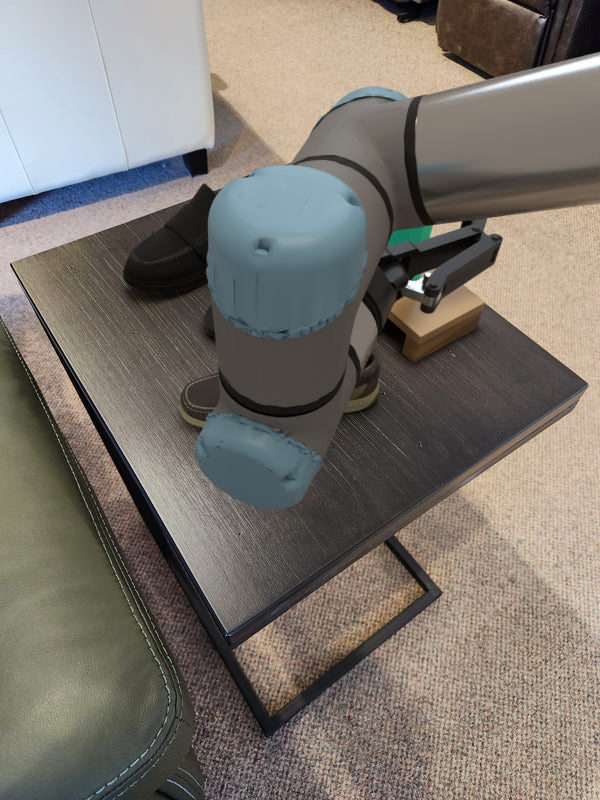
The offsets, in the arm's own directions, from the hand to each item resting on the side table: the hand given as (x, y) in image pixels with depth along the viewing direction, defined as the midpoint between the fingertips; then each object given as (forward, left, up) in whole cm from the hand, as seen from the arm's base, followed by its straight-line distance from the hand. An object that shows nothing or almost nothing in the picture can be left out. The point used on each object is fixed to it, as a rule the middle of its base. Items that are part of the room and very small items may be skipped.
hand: (407, 178), depth 57 cm
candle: (+5, -14, -23) cm, 27 cm away
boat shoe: (+7, +11, -28) cm, 31 cm away
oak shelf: (+5, -14, -28) cm, 32 cm away
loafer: (+32, -4, -28) cm, 43 cm away
